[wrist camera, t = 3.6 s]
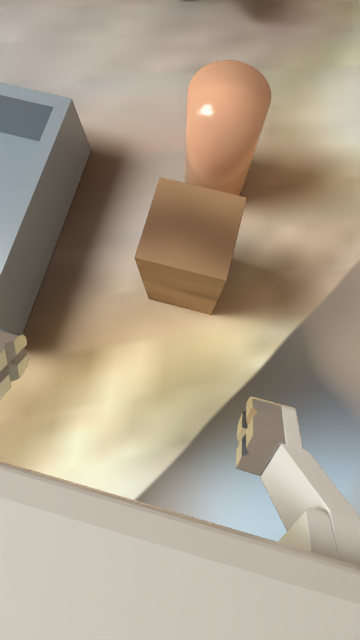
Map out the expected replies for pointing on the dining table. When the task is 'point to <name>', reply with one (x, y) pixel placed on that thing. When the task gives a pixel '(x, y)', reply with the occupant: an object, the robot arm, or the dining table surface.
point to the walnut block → (188, 244)
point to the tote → (34, 191)
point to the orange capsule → (224, 124)
